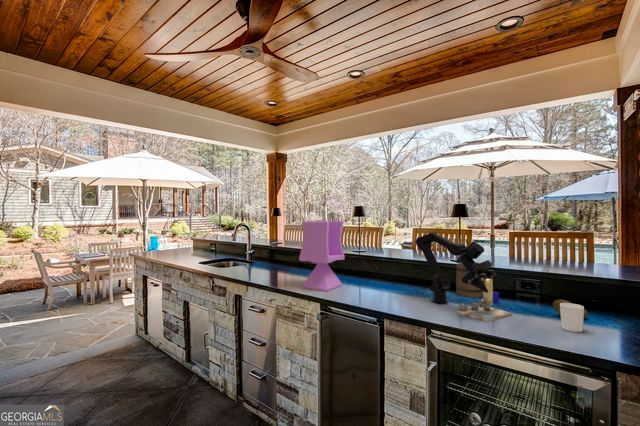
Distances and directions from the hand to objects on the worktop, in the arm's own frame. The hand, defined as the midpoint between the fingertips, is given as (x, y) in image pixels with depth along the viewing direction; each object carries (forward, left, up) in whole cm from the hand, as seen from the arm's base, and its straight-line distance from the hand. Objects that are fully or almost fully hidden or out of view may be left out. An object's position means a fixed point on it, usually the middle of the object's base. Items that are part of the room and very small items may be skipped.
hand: (490, 291), depth 146 cm
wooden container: (-34, +31, -13) cm, 48 cm away
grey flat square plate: (-2, -2, -12) cm, 13 cm away
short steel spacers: (-9, +4, -11) cm, 15 cm away
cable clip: (-19, +29, -13) cm, 38 cm away
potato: (+17, +33, -13) cm, 40 cm away
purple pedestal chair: (-96, -38, -13) cm, 104 cm away
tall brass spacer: (-1, 0, -6) cm, 6 cm away
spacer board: (-6, +3, -12) cm, 14 cm away
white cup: (+25, +16, -13) cm, 33 cm away
